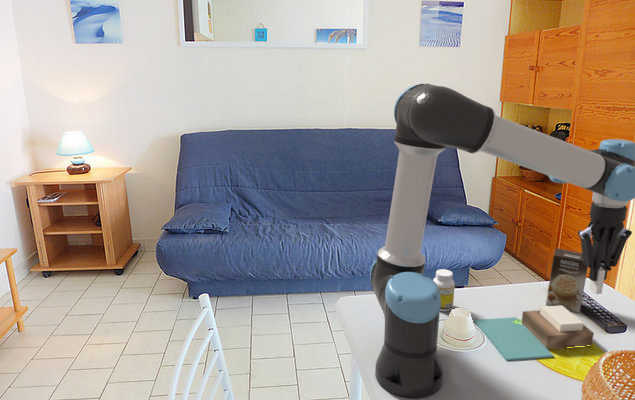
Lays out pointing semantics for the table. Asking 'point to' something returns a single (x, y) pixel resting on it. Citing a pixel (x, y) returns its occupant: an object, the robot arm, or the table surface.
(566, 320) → the cream flat block
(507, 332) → the mat
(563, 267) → the coffee box
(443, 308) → the pill bottle
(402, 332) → the robot arm
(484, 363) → the table surface
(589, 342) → the wooden block
